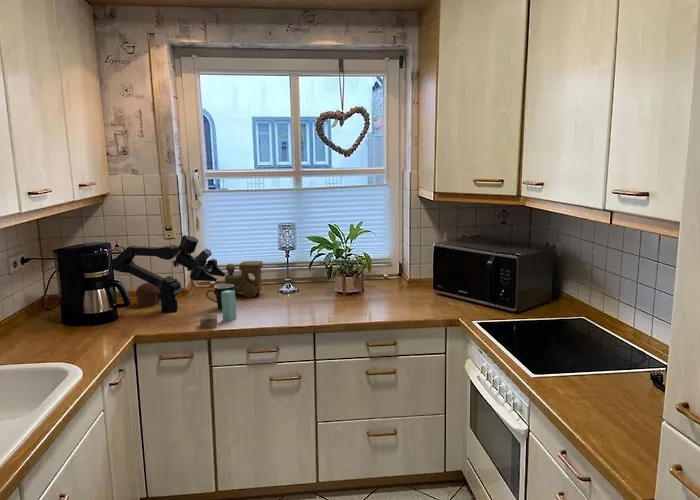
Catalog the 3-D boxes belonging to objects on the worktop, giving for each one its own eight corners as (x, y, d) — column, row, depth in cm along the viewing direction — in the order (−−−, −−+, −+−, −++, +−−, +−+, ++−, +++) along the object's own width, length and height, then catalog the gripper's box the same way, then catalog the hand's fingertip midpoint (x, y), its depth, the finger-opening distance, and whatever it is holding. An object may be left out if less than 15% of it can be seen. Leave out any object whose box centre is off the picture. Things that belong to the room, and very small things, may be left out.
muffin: (156, 307, 244) (154, 286, 243) (132, 307, 245) (130, 286, 243) (165, 300, 256) (164, 280, 254) (142, 301, 256) (141, 280, 254)
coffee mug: (237, 304, 247) (236, 283, 245) (231, 310, 238) (230, 288, 236) (213, 304, 248) (211, 283, 246) (206, 309, 239) (204, 288, 238)
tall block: (222, 319, 224) (221, 292, 222) (228, 317, 227) (227, 290, 225) (230, 321, 222) (229, 293, 220) (236, 318, 226) (234, 290, 224)
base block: (200, 329, 213) (199, 319, 212) (202, 324, 218) (201, 315, 218) (216, 328, 214) (215, 318, 213) (217, 323, 219) (216, 314, 219)
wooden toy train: (264, 292, 269) (263, 260, 266) (259, 298, 258) (258, 264, 255) (225, 292, 270) (223, 260, 267) (219, 298, 259) (217, 265, 256)
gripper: (185, 249, 222) (218, 266, 221) (205, 242, 240) (235, 257, 239) (176, 272, 225) (209, 289, 223) (196, 264, 243) (226, 279, 241)
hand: (220, 277), depth 232 cm, fingers open, 9 cm apart
